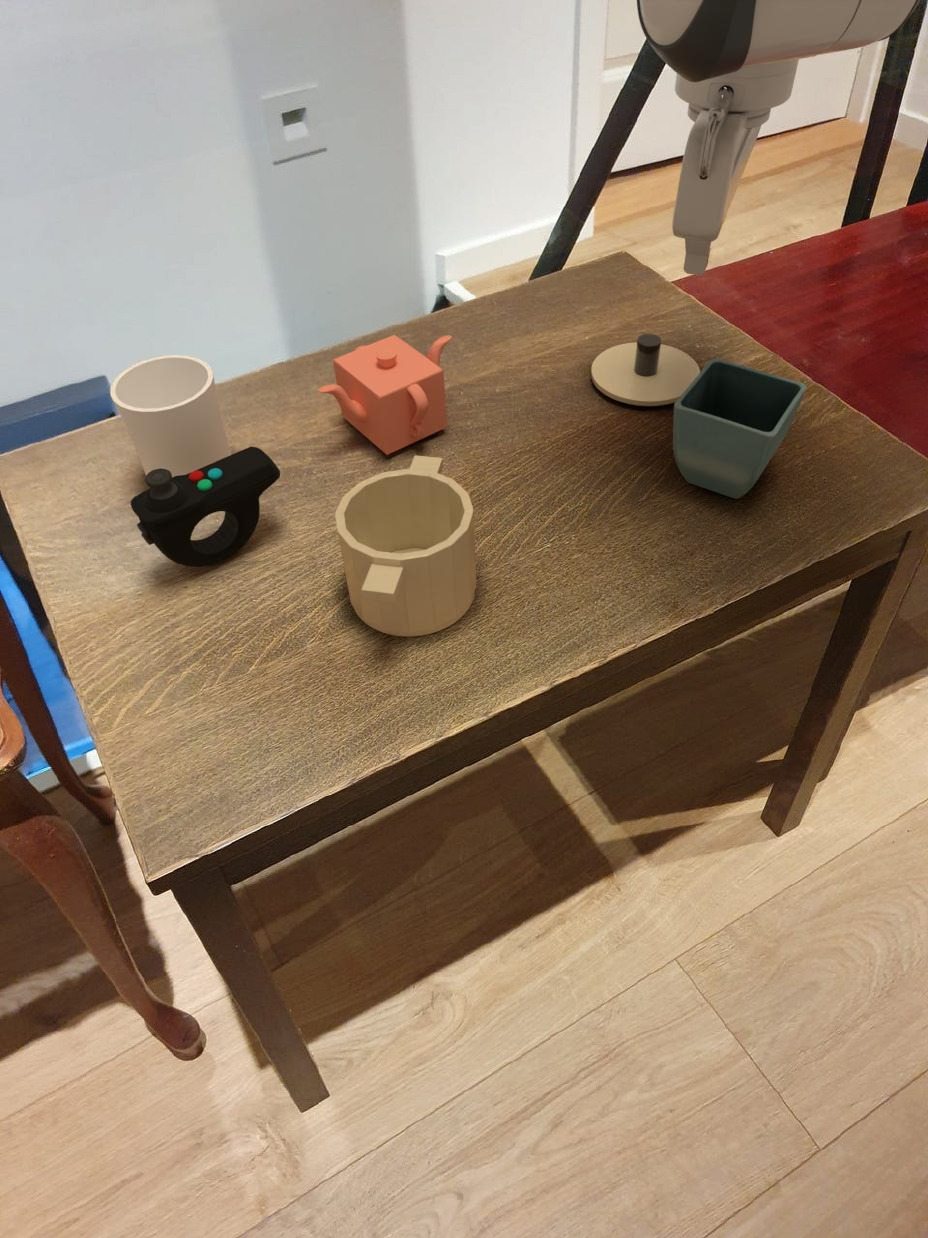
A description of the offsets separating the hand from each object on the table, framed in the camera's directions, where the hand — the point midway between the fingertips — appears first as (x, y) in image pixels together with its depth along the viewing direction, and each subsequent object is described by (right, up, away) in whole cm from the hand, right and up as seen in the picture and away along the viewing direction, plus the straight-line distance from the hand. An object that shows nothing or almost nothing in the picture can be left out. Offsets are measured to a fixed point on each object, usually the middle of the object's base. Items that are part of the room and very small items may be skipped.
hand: (705, 245), depth 78 cm
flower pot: (+3, -20, +4) cm, 20 cm away
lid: (-2, -7, +15) cm, 17 cm away
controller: (-42, -27, 0) cm, 50 cm away
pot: (-25, -30, -4) cm, 40 cm away
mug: (-48, -18, +8) cm, 52 cm away
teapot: (-28, -13, +12) cm, 33 cm away
